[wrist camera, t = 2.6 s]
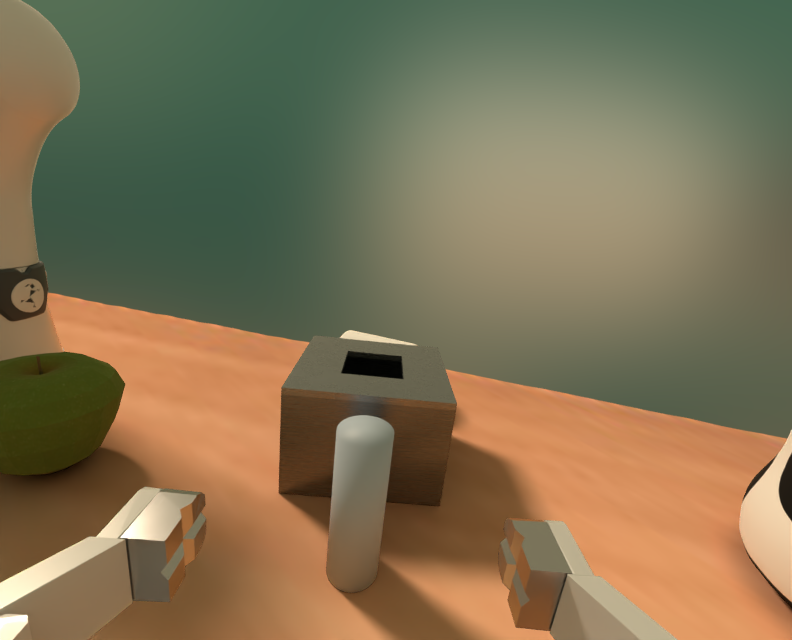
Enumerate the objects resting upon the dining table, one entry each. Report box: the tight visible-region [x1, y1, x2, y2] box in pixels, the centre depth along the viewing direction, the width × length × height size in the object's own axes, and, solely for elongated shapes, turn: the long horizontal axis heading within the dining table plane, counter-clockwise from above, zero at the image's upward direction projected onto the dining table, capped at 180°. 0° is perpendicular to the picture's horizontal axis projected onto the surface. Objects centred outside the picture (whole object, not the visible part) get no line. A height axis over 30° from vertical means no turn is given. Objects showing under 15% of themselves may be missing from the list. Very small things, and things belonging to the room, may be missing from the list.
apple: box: [0, 352, 125, 475], centre depth 32 cm, size 11×10×10 cm
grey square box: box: [279, 336, 457, 506], centre depth 38 cm, size 14×13×10 cm
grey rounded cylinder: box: [326, 415, 394, 593], centre depth 25 cm, size 4×4×11 cm
